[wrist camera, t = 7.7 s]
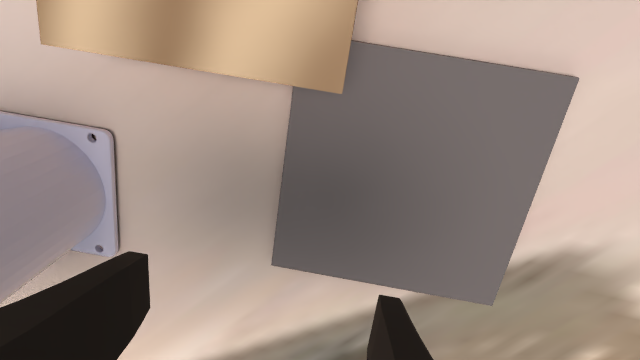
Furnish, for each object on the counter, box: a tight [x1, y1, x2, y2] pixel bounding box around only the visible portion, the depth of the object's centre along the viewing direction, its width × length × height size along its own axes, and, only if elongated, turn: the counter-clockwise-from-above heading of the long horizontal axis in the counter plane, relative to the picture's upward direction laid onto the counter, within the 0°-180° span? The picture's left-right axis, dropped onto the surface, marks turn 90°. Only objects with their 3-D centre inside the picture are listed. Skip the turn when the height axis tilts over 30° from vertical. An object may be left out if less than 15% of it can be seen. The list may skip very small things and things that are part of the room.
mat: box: [272, 40, 579, 306], centre depth 21 cm, size 13×13×1 cm
